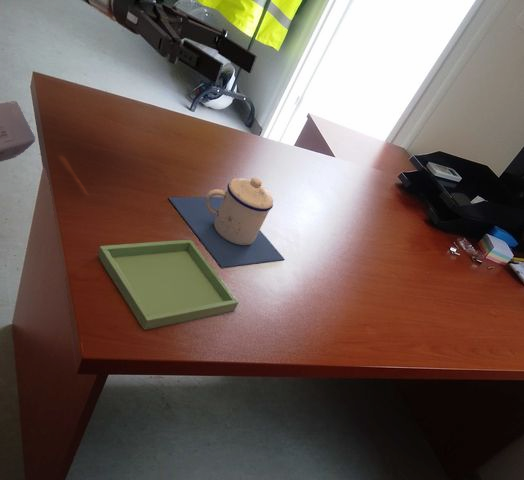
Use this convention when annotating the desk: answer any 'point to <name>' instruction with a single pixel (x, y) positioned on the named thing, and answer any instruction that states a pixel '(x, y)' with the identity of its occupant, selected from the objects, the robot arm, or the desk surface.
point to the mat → (216, 245)
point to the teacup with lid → (241, 210)
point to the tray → (166, 282)
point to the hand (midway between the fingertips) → (237, 69)
